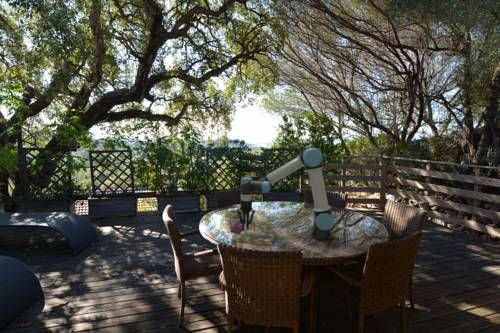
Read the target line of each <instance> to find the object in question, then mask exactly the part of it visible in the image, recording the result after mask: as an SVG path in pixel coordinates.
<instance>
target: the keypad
mask: <svg viewBox="0 0 500 333" xmlns="http://www.w3.org/2000/svg"><path fill="white" fill-rule="evenodd" d="M243 232H244V231H242V232H241V233H239V234H238V235H237V236H236V237H235V243H242V244H243V243H245V244H251V245H252V244H253V245H262V246H272V244H273V243H274V241H275V240H276V234H275V233H265V232H261V236H262V235H271V237H270V239H266V238H261V236H260V237H259V238H256V237H251V235H250V236H249V237H246V236H241V234H242V233H243ZM252 232H253V231H247V233H252Z"/></svg>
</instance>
